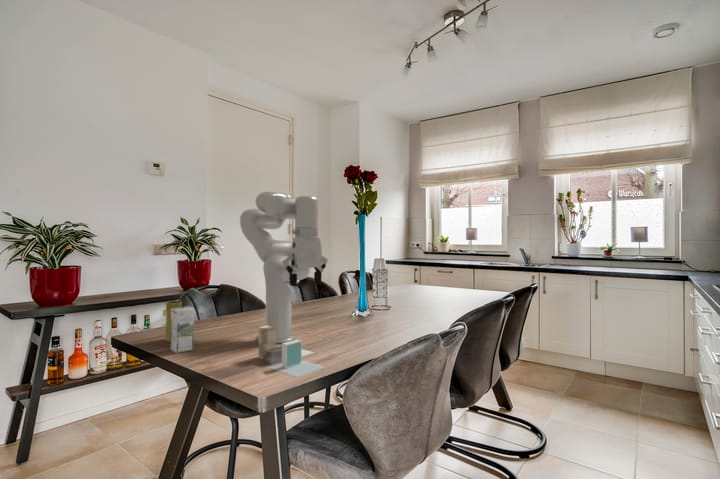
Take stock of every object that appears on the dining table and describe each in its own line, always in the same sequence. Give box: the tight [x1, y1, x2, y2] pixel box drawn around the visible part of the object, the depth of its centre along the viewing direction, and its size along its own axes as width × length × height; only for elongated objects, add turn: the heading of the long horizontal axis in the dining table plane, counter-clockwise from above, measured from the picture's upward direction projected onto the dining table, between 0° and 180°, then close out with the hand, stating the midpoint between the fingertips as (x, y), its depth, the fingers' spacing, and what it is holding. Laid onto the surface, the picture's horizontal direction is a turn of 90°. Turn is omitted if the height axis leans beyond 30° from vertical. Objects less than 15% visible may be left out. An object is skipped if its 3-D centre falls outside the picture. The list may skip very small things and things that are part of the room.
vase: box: [164, 300, 183, 343], centre depth 145 cm, size 6×6×14 cm
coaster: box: [302, 349, 315, 358], centre depth 127 cm, size 7×6×1 cm
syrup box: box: [169, 306, 195, 354], centre depth 131 cm, size 6×6×14 cm
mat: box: [269, 359, 325, 378], centre depth 114 cm, size 12×11×1 cm
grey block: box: [257, 325, 282, 366], centre depth 121 cm, size 9×7×10 cm
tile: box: [281, 339, 303, 369], centre depth 115 cm, size 2×6×7 cm, turn 142°
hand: (305, 284), depth 129 cm, fingers open, 9 cm apart
